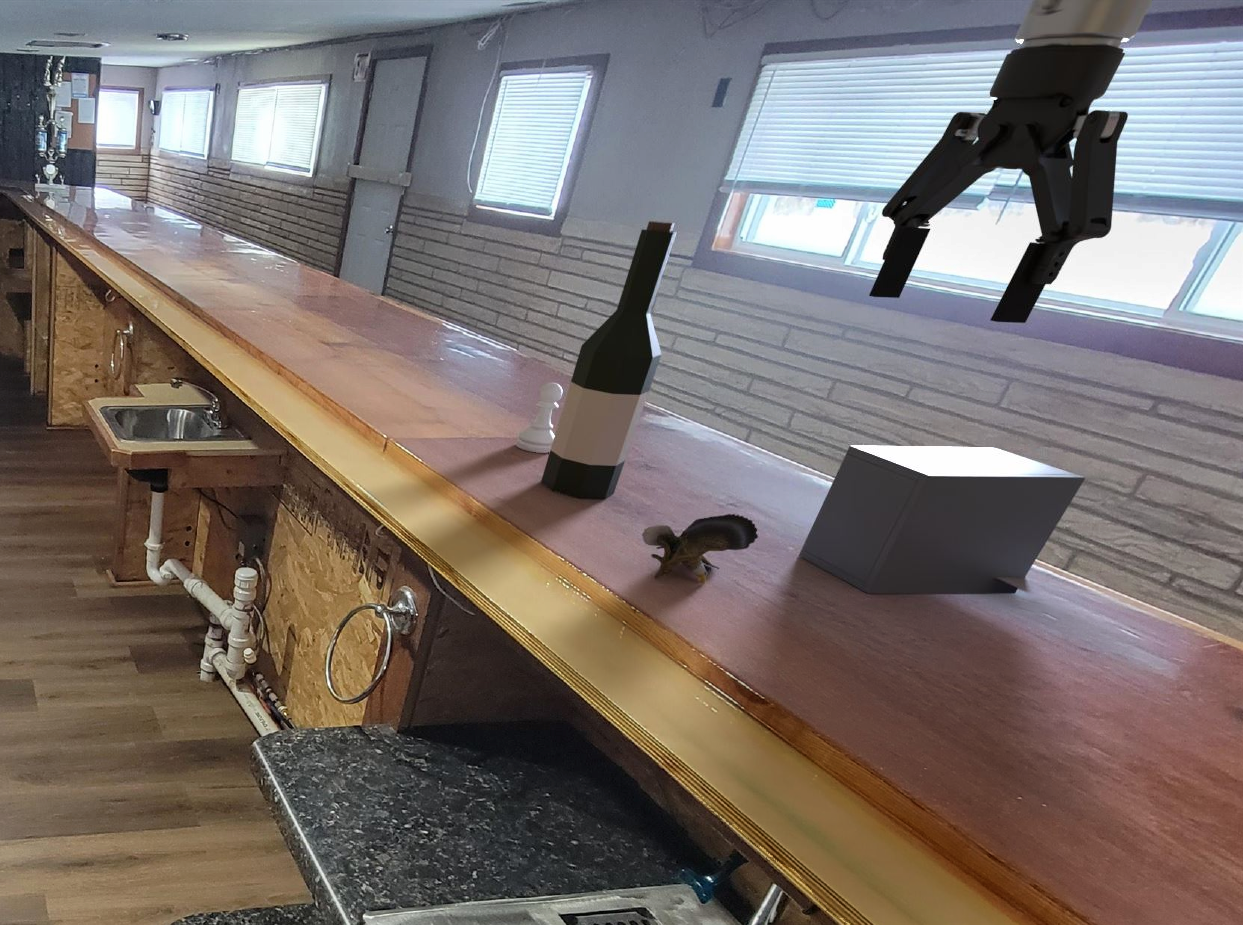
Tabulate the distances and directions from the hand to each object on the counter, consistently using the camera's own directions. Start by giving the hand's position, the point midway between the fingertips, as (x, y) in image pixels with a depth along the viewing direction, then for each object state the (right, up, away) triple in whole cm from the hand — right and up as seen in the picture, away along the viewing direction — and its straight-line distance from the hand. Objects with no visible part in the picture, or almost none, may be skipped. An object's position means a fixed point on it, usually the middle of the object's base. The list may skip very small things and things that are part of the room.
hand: (941, 308), depth 87 cm
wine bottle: (-22, -13, +25) cm, 36 cm away
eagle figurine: (-23, -26, +3) cm, 35 cm away
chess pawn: (-20, -5, +39) cm, 44 cm away
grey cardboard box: (+1, -25, +5) cm, 26 cm away
